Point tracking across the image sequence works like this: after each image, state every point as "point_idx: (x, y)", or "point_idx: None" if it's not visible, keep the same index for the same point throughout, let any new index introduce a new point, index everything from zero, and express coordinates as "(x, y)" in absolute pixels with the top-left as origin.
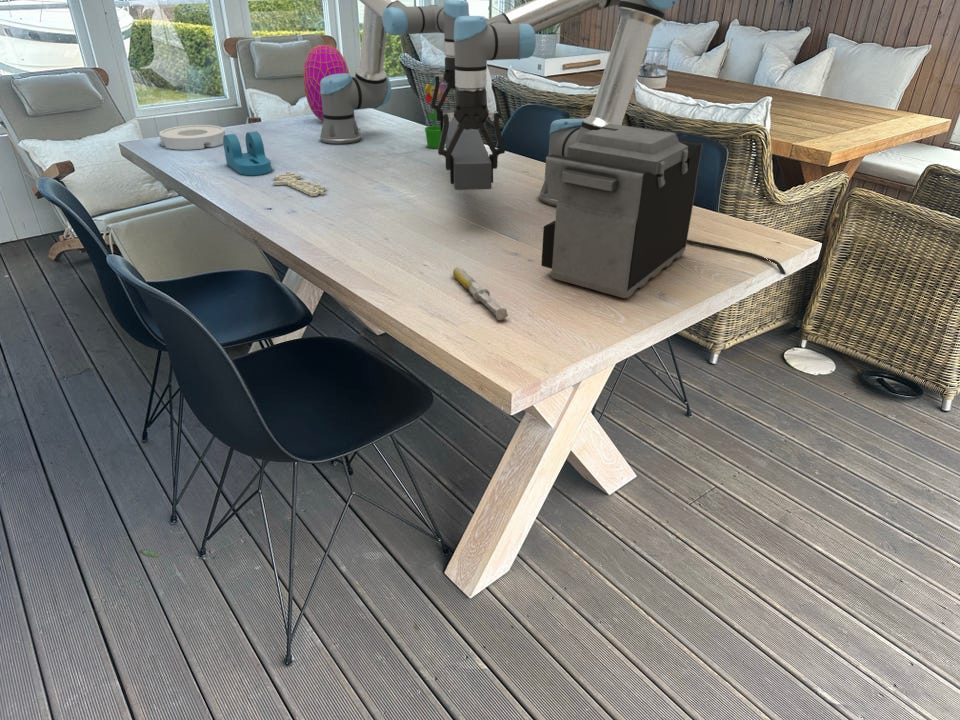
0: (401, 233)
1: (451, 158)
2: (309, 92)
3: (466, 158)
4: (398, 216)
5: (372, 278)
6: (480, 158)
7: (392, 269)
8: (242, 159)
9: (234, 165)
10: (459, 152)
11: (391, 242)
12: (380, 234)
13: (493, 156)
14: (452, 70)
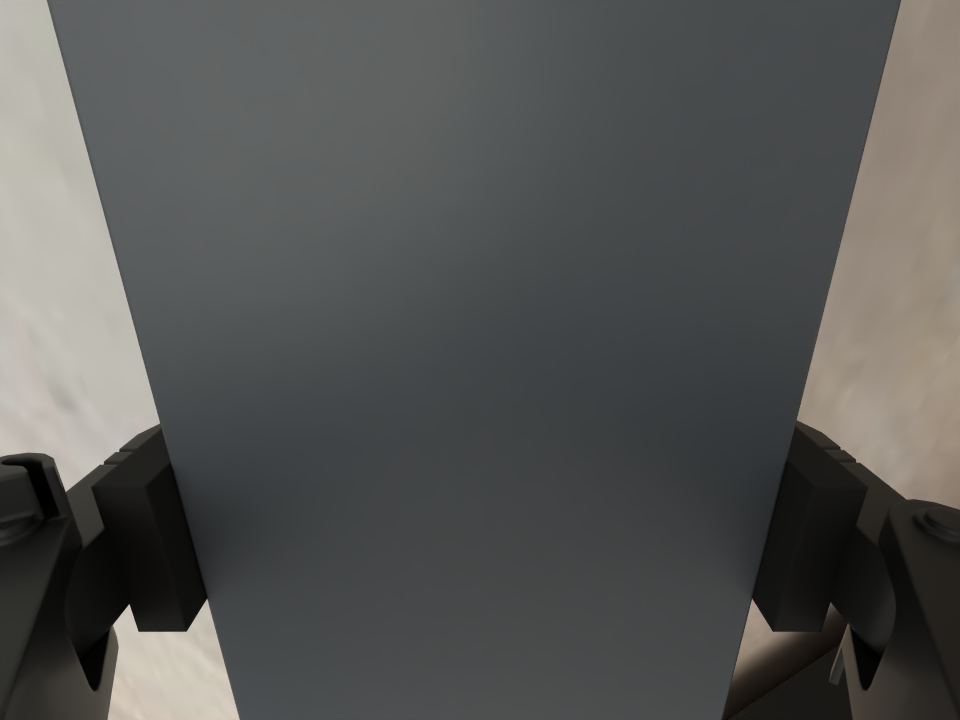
0: (115, 328)
1: (161, 623)
2: None
3: (400, 527)
4: (5, 15)
5: (133, 711)
6: (621, 542)
7: (179, 662)
8: None
9: None
10: (246, 91)
11: (100, 438)
12: (10, 337)
13: (838, 594)
14: None
